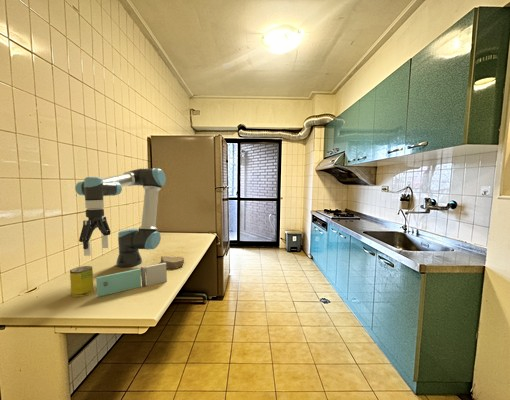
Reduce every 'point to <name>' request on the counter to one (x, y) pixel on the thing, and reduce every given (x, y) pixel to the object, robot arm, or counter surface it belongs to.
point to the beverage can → (81, 281)
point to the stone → (172, 261)
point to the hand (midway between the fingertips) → (96, 251)
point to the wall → (154, 274)
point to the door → (118, 282)
